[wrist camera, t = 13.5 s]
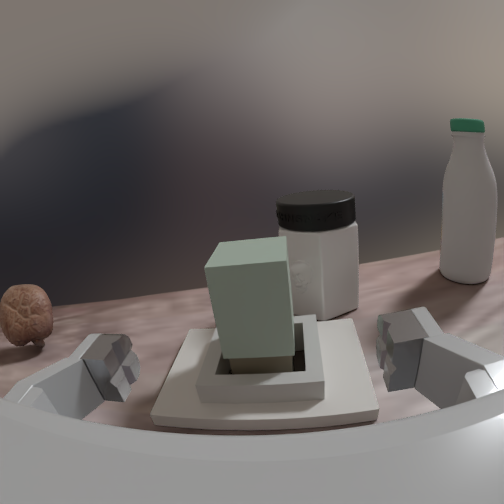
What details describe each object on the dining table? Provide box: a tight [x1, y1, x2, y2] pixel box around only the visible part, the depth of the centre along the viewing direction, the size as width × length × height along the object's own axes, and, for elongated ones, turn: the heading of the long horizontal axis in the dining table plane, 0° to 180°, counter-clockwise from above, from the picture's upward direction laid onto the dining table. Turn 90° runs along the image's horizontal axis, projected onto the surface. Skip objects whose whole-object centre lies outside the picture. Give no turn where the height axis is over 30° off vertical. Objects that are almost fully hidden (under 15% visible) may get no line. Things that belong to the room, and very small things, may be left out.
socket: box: [150, 314, 379, 430], centre depth 25 cm, size 16×12×3 cm
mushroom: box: [0, 284, 53, 347], centre depth 30 cm, size 8×6×8 cm
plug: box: [204, 236, 295, 375], centre depth 23 cm, size 5×5×11 cm
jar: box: [276, 190, 359, 321], centre depth 34 cm, size 9×8×12 cm
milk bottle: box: [439, 118, 497, 284], centre depth 33 cm, size 8×8×20 cm
